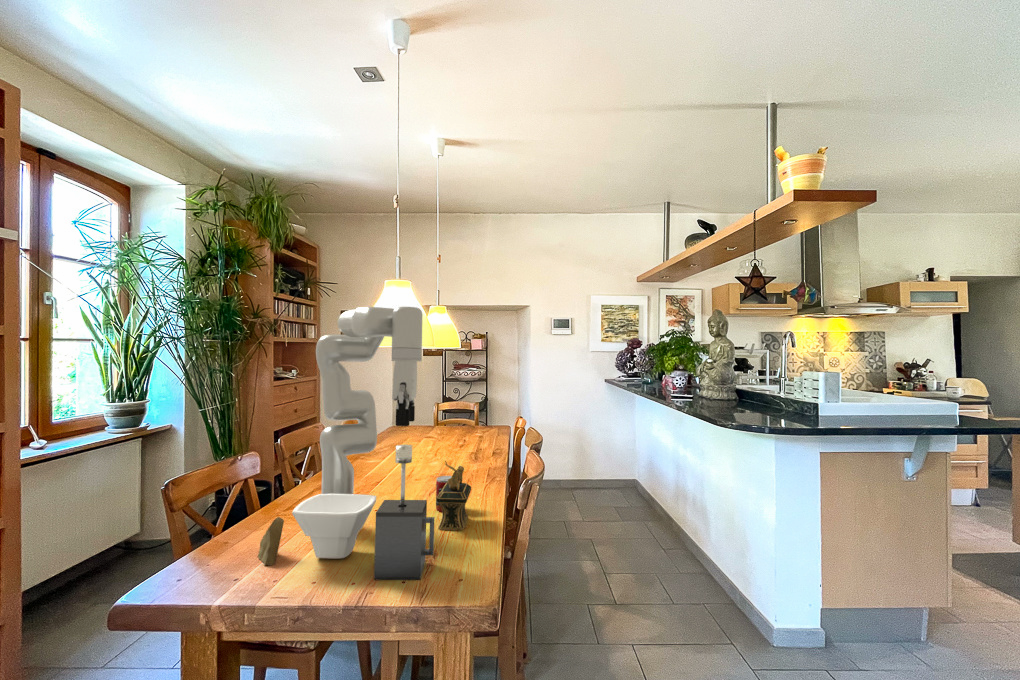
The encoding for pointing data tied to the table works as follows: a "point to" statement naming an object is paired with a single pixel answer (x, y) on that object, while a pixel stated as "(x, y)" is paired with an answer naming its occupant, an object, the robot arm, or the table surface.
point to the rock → (271, 542)
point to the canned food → (439, 485)
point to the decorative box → (454, 501)
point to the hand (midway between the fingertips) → (405, 423)
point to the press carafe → (402, 540)
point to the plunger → (403, 465)
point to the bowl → (333, 521)
